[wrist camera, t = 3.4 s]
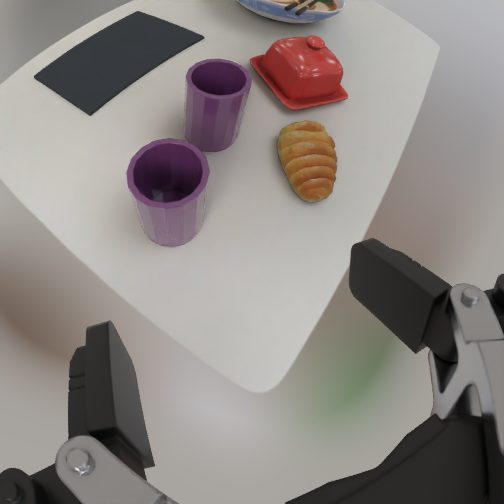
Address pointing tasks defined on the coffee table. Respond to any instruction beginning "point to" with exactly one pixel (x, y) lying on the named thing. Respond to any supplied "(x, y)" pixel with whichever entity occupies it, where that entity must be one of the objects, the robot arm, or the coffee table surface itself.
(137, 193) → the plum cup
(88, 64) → the mat
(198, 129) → the plum cup side
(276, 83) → the butter dish
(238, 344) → the coffee table surface
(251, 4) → the ramen bowl
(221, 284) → the coffee table surface
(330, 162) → the pastry
